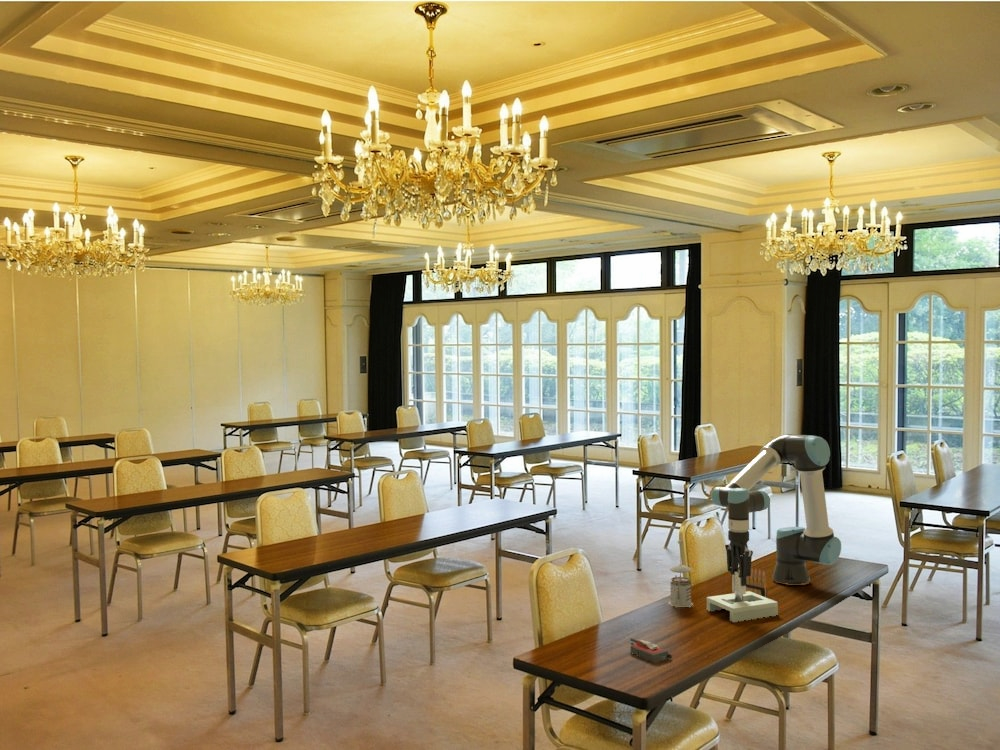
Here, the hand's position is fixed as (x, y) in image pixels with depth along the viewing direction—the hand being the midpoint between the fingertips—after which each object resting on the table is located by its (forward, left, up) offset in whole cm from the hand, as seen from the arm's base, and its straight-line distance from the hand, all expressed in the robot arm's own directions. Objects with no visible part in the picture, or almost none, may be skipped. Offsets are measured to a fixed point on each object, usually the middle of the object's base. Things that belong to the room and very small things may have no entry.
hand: (739, 592), depth 305 cm
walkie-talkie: (+54, +22, -8) cm, 59 cm away
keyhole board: (-1, 0, -8) cm, 8 cm away
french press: (+14, -18, -8) cm, 24 cm away
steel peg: (0, 0, -7) cm, 7 cm away
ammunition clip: (-18, -14, -8) cm, 24 cm away
